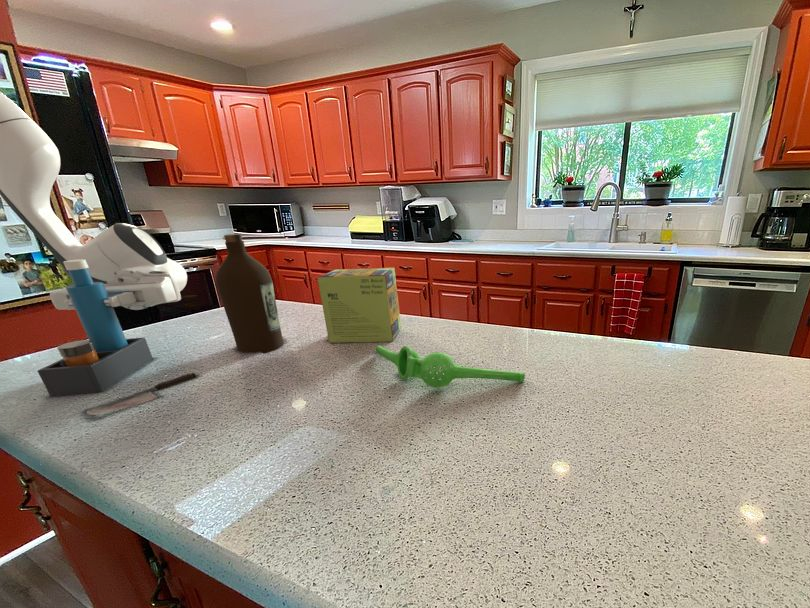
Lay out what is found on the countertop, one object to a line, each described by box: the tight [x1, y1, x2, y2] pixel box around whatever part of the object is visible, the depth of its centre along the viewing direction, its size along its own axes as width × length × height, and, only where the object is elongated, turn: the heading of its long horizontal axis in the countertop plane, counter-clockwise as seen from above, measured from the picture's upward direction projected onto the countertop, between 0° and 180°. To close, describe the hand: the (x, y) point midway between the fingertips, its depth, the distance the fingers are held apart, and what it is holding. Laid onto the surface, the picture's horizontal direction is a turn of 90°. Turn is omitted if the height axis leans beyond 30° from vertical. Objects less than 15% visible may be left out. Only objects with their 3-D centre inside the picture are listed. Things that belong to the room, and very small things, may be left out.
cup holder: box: [37, 337, 154, 398], centre depth 76 cm, size 8×16×6 cm, turn 10°
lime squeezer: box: [375, 345, 526, 389], centre depth 72 cm, size 34×12×6 cm, turn 63°
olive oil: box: [215, 233, 284, 354], centre depth 87 cm, size 11×11×25 cm
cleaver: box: [86, 372, 197, 416], centre depth 69 cm, size 16×1×5 cm
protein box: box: [317, 267, 402, 344], centre depth 94 cm, size 10×15×16 cm
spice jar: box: [56, 339, 99, 367], centre depth 72 cm, size 5×5×8 cm
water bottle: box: [63, 259, 128, 352], centre depth 76 cm, size 5×5×18 cm
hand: (89, 304), depth 75 cm, fingers closed on water bottle, 5 cm apart
